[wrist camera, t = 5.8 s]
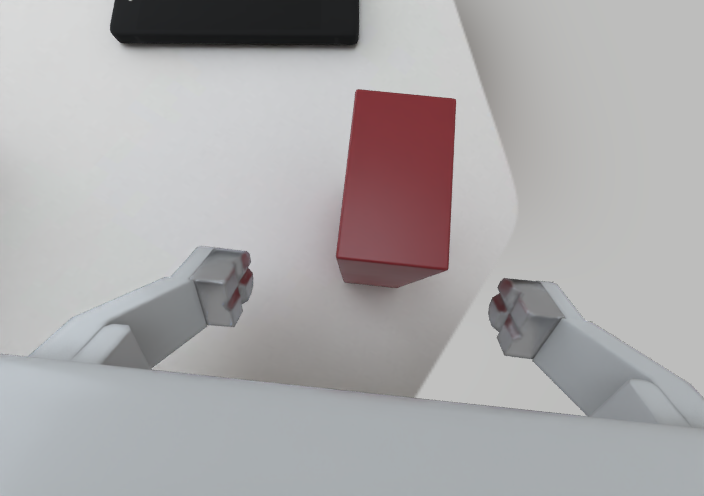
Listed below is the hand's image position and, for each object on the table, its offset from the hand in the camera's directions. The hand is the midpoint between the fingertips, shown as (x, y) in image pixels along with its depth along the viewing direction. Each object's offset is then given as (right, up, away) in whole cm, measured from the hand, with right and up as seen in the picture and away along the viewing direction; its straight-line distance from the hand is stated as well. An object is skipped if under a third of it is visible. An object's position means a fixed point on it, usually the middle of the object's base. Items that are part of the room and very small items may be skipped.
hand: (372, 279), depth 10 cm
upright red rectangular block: (+1, +2, +10) cm, 10 cm away
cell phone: (-9, +20, +13) cm, 26 cm away
